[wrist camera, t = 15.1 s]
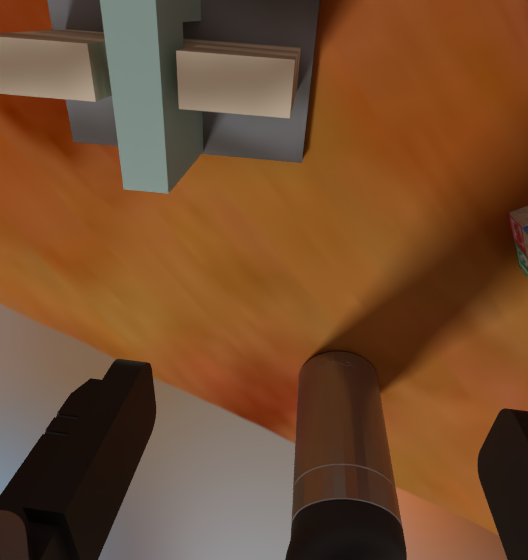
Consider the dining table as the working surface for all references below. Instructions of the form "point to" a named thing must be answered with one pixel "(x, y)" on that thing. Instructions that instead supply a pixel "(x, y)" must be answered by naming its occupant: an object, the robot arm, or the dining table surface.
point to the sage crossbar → (150, 91)
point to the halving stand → (183, 73)
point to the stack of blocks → (520, 235)
